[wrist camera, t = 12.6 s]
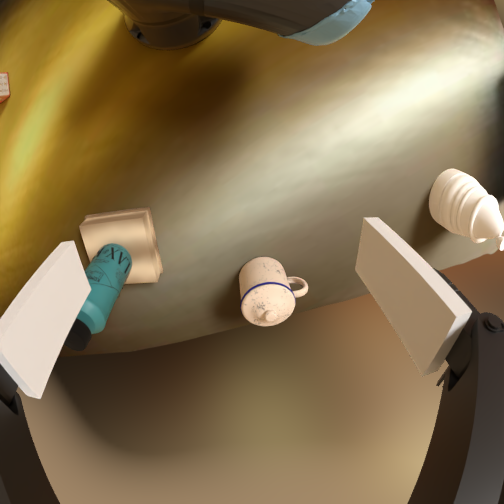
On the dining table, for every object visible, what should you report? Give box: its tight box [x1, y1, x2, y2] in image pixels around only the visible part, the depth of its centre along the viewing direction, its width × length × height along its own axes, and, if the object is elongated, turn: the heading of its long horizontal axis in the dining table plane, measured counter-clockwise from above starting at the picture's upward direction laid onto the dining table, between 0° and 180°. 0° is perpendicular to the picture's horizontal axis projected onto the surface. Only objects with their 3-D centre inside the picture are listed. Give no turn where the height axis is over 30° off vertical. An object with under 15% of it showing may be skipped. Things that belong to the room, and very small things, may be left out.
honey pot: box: [429, 169, 504, 251], centre depth 40 cm, size 13×13×18 cm
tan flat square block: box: [79, 207, 163, 284], centre depth 44 cm, size 13×13×4 cm
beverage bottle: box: [64, 243, 132, 351], centre depth 34 cm, size 6×7×20 cm
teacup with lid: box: [239, 257, 308, 326], centre depth 47 cm, size 12×9×12 cm
